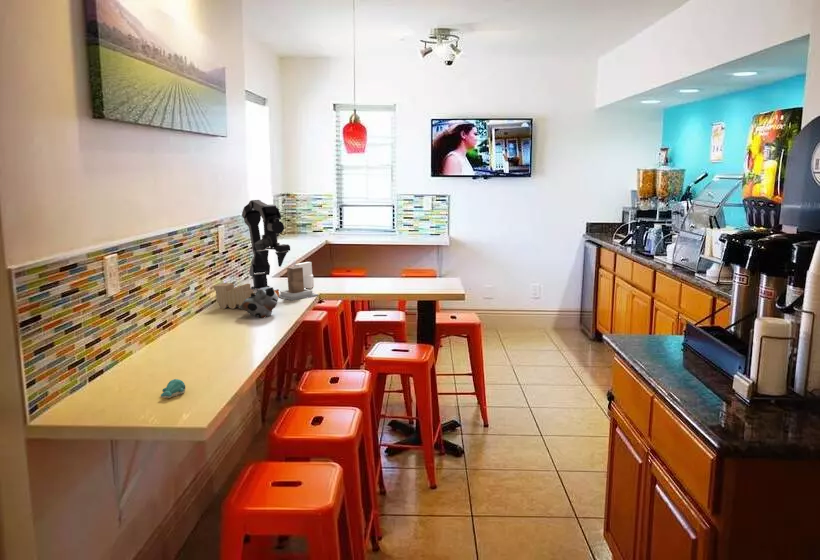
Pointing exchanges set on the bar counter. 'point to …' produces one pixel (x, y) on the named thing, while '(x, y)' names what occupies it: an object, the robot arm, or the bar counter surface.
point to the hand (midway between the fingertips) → (272, 266)
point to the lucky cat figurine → (261, 302)
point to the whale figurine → (173, 389)
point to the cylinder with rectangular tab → (307, 274)
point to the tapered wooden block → (295, 279)
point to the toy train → (231, 294)
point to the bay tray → (296, 294)
